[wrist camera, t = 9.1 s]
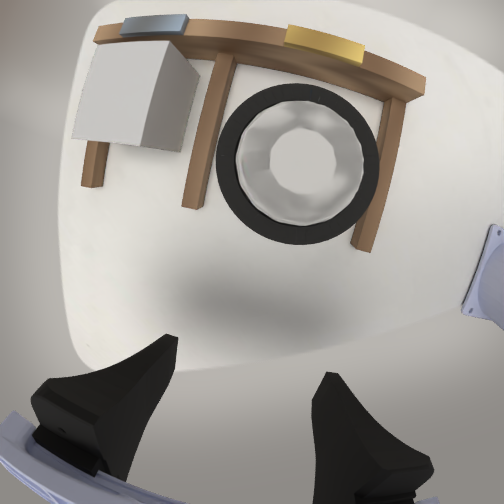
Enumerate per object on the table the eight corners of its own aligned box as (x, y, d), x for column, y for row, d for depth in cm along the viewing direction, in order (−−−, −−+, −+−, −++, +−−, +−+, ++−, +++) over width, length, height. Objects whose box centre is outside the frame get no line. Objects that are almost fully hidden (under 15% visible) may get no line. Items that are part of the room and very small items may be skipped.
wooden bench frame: (399, 92, 15) (430, 74, 10) (363, 246, 18) (387, 269, 14) (125, 45, 15) (94, 23, 11) (92, 184, 18) (52, 190, 14)
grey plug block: (200, 76, 16) (169, 40, 10) (180, 152, 17) (139, 146, 12) (142, 72, 16) (97, 45, 10) (123, 144, 17) (71, 138, 12)
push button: (345, 124, 16) (416, 80, 6) (351, 205, 17) (427, 244, 8) (241, 130, 17) (201, 84, 7) (249, 212, 18) (219, 259, 8)
